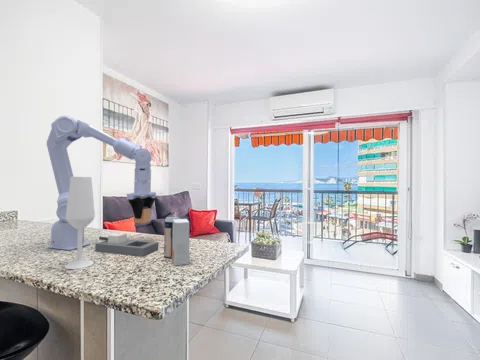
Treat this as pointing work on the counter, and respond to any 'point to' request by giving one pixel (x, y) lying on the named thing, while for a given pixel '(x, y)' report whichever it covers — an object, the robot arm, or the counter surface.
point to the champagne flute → (80, 214)
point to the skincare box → (180, 242)
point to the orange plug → (143, 216)
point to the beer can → (168, 236)
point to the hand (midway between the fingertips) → (141, 217)
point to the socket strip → (125, 245)
